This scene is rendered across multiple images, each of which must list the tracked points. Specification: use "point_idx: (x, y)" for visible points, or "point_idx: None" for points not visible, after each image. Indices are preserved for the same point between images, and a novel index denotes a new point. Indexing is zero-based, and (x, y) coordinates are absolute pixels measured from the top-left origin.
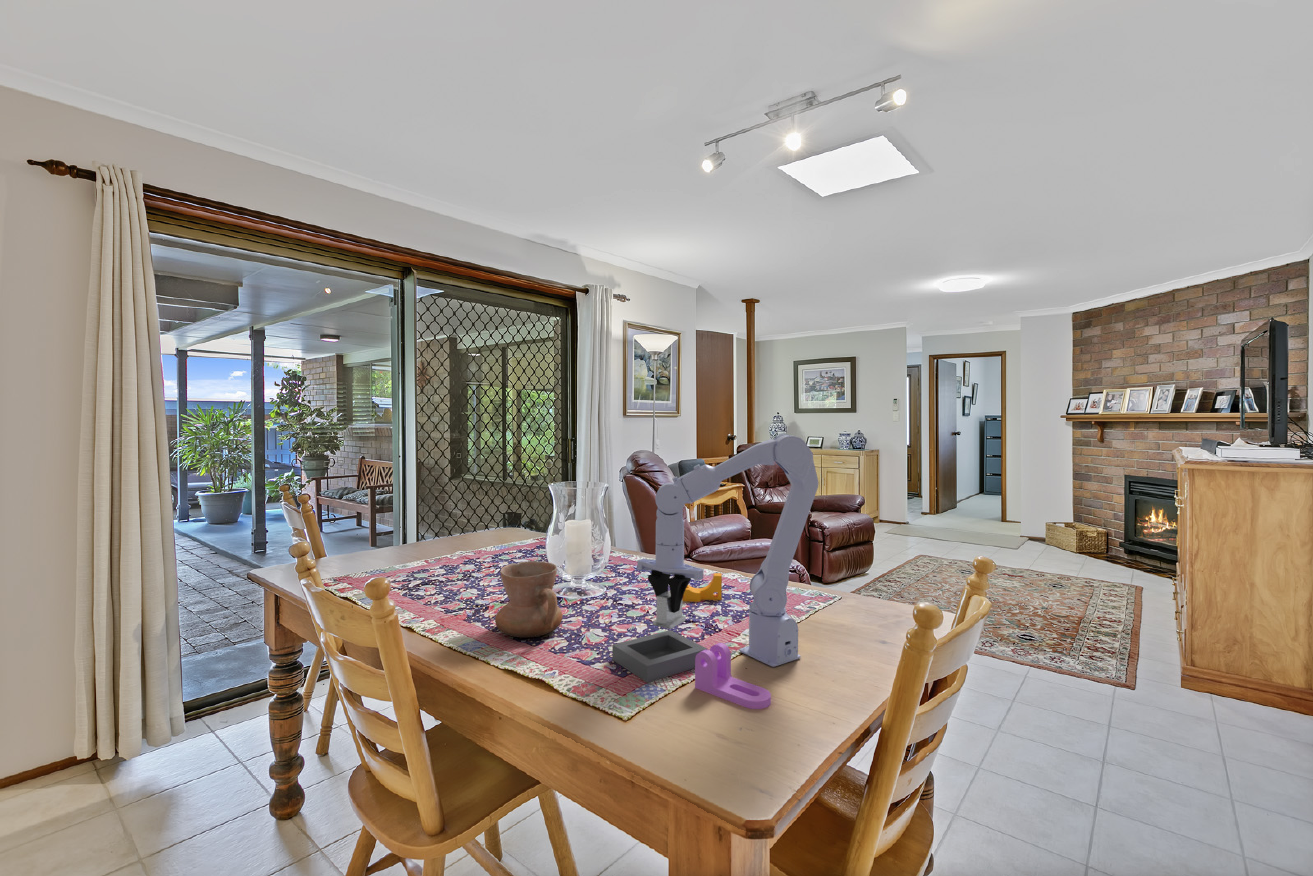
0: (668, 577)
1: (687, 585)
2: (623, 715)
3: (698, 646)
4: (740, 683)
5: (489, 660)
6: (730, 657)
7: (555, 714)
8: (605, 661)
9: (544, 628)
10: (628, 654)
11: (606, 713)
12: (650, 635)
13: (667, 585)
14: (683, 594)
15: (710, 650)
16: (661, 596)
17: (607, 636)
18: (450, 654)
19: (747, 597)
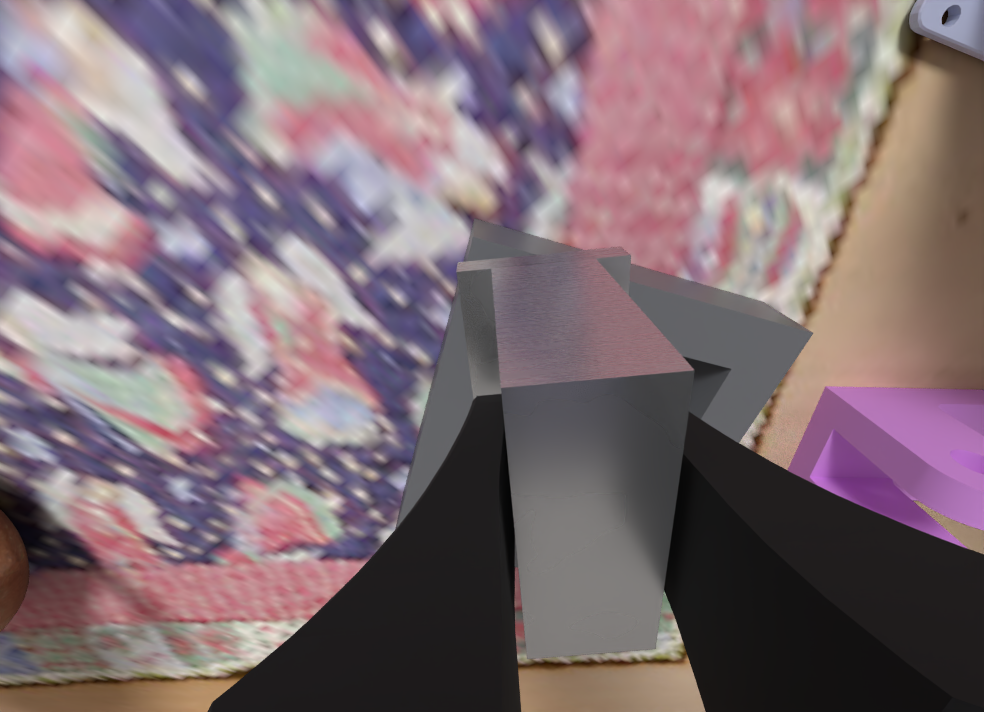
0: (510, 695)
1: (944, 546)
2: (664, 652)
3: (754, 338)
4: (979, 425)
5: (146, 671)
6: None
7: (531, 707)
8: (393, 513)
9: (13, 575)
10: (516, 566)
11: (623, 664)
12: (441, 380)
13: (502, 558)
14: (764, 460)
15: (926, 502)
16: (575, 643)
17: (156, 345)
18: (39, 700)
19: None
